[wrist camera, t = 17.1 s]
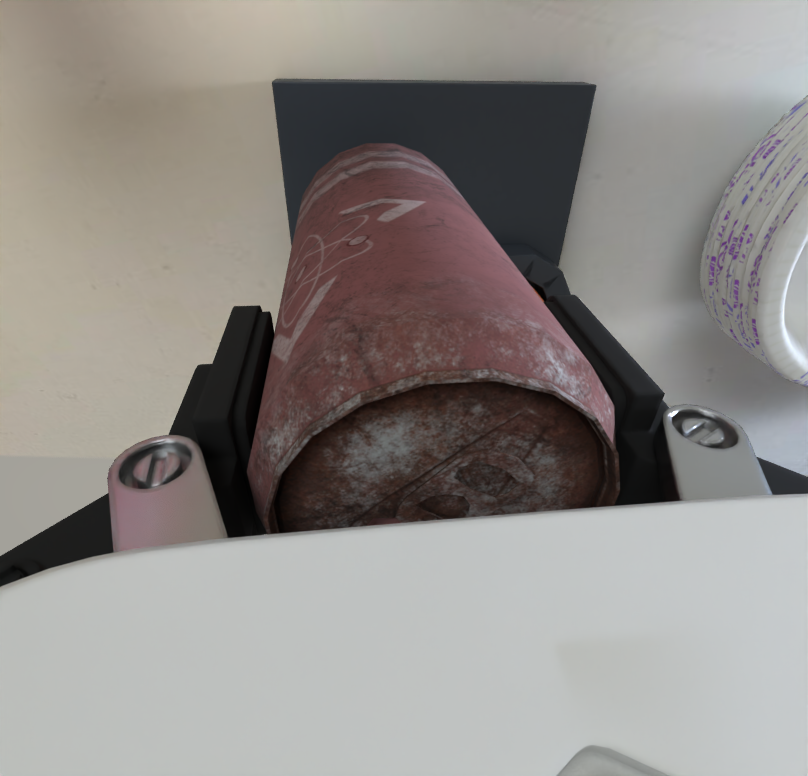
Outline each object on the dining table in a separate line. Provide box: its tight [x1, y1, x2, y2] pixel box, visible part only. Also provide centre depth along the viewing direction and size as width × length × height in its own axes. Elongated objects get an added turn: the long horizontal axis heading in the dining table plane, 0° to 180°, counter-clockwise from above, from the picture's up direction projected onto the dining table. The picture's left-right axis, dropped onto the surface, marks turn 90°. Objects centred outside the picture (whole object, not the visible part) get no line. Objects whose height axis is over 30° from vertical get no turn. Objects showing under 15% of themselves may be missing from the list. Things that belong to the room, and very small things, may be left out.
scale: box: [272, 79, 596, 302], centre depth 25 cm, size 14×14×3 cm
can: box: [247, 143, 620, 535], centre depth 13 cm, size 6×6×14 cm
